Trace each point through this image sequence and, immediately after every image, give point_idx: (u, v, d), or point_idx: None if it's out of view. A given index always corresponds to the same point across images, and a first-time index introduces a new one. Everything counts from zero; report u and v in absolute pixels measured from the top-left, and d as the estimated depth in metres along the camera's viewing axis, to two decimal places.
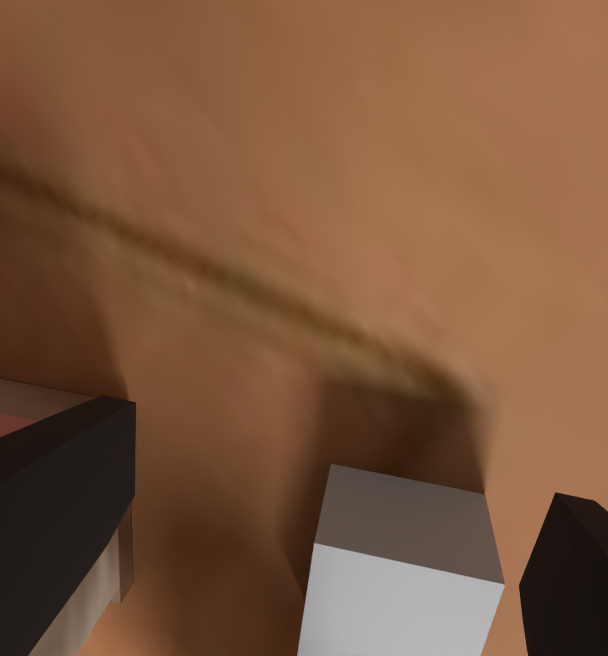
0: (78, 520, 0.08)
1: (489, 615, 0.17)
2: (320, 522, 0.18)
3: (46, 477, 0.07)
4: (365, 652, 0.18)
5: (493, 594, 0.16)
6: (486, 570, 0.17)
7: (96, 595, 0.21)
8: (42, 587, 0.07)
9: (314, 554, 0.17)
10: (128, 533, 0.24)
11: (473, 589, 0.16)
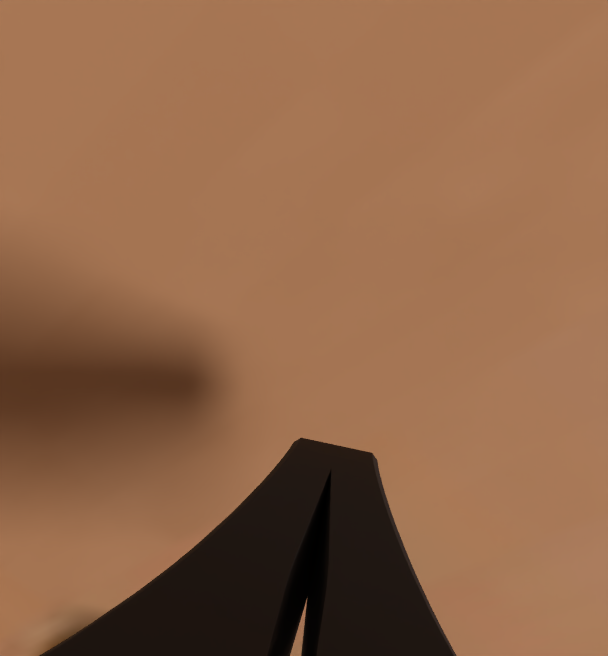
0: (306, 575, 0.07)
1: None
2: None
3: (307, 538, 0.06)
4: None
5: None
6: None
7: None
8: (286, 650, 0.07)
9: None
10: None
11: None
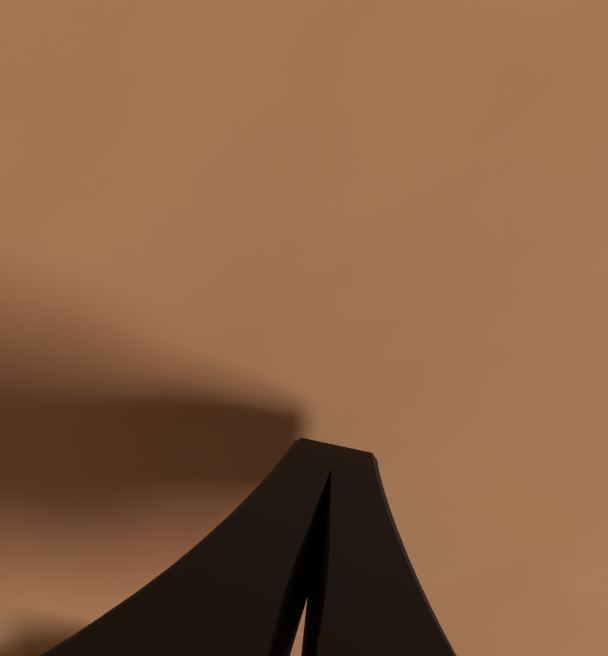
0: (306, 575, 0.07)
1: None
2: None
3: (307, 538, 0.06)
4: None
5: None
6: None
7: None
8: (286, 650, 0.07)
9: None
10: None
11: None
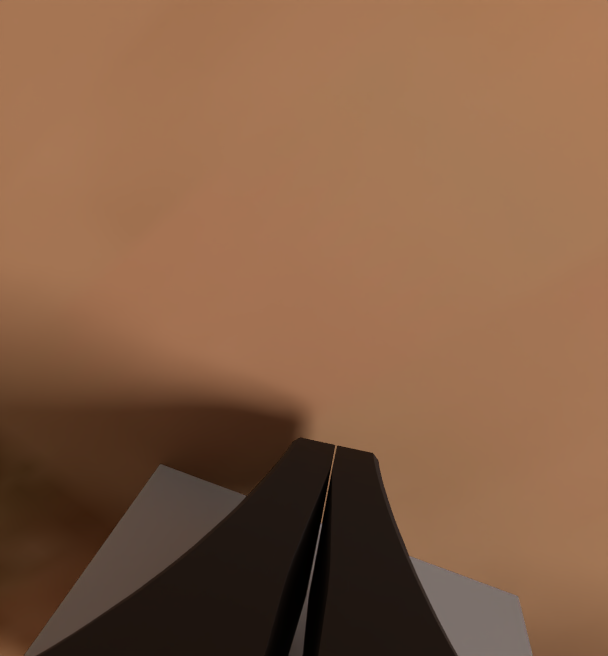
0: (304, 575, 0.07)
1: None
2: None
3: (306, 538, 0.06)
4: None
5: None
6: None
7: None
8: (284, 650, 0.07)
9: None
10: None
11: None
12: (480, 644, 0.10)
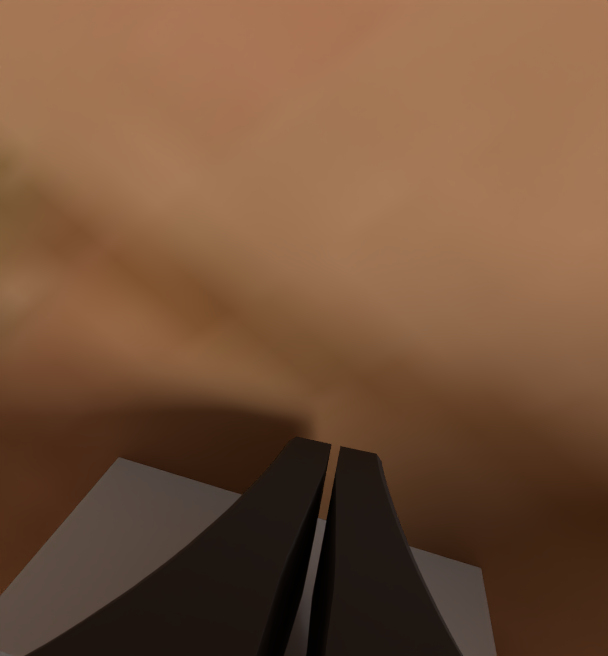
0: (300, 574, 0.07)
1: None
2: None
3: (301, 537, 0.06)
4: None
5: None
6: None
7: None
8: (279, 649, 0.07)
9: None
10: None
11: None
12: None
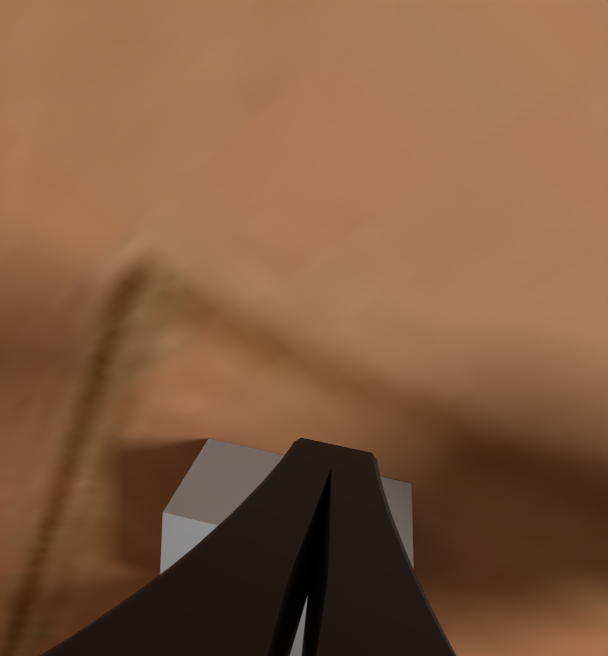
0: (306, 575, 0.07)
1: (203, 526, 0.17)
2: None
3: (307, 539, 0.06)
4: None
5: (177, 521, 0.17)
6: None
7: None
8: (286, 650, 0.07)
9: None
10: None
11: (176, 536, 0.17)
12: None
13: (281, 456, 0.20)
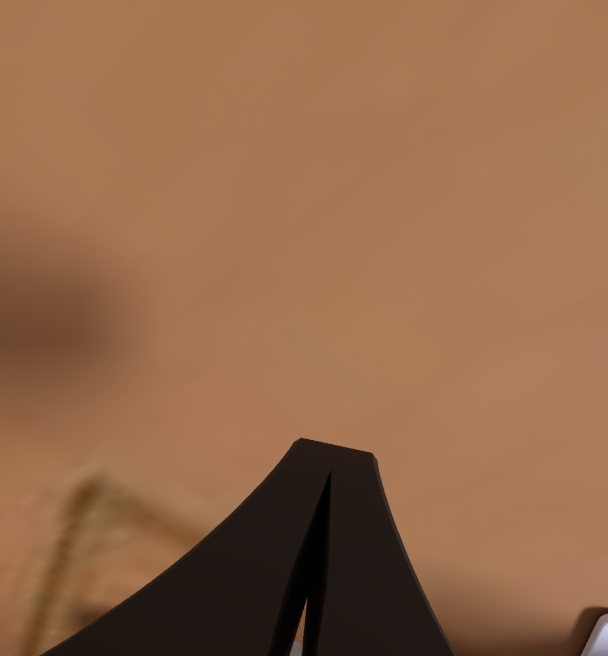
0: (306, 575, 0.07)
1: None
2: None
3: (307, 538, 0.06)
4: None
5: None
6: None
7: None
8: (285, 650, 0.07)
9: None
10: None
11: None
12: None
13: None
